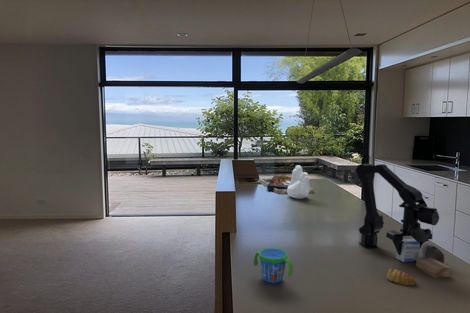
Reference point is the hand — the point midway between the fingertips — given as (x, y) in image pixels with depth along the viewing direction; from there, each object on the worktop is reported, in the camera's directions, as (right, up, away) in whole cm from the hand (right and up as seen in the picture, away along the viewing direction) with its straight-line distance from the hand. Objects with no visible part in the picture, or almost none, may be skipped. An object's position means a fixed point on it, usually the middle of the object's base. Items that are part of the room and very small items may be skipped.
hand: (407, 254), depth 149 cm
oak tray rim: (-31, +15, +156) cm, 160 cm away
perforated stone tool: (+10, -3, 0) cm, 10 cm away
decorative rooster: (-26, +10, +112) cm, 116 cm away
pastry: (-13, -5, -19) cm, 23 cm away
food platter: (-31, +16, +156) cm, 160 cm away
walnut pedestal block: (+4, -4, -11) cm, 13 cm away
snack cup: (-61, -4, -21) cm, 65 cm away
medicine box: (0, -3, 0) cm, 3 cm away
